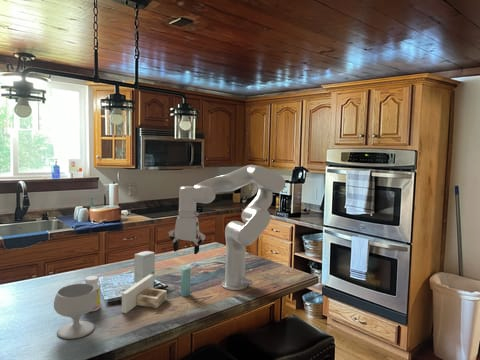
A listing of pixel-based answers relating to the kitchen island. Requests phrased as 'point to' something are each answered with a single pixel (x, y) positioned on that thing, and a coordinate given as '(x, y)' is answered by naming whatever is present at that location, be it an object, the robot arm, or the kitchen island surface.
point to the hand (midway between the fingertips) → (186, 252)
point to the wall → (135, 292)
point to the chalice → (75, 309)
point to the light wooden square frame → (151, 297)
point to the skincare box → (144, 265)
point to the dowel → (185, 282)
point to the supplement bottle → (93, 281)
